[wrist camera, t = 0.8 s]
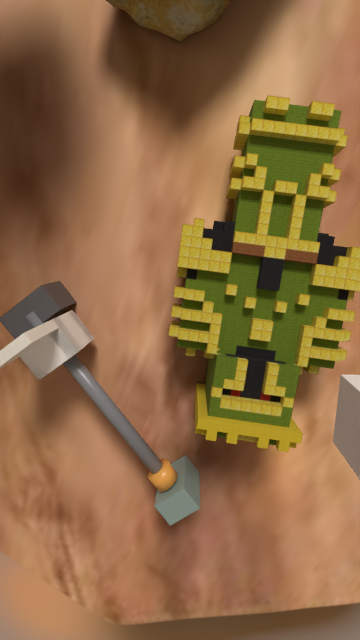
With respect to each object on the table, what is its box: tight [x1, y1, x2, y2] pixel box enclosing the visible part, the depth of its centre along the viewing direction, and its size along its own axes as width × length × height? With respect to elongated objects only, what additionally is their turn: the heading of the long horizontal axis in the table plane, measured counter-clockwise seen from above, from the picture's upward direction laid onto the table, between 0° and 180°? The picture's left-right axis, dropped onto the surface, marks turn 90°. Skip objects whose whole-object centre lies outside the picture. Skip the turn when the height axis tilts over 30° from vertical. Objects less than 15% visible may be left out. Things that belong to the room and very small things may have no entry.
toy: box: [169, 96, 360, 452], centre depth 33 cm, size 17×10×30 cm
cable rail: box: [0, 281, 200, 526], centre depth 38 cm, size 29×6×6 cm, turn 36°
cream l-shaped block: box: [0, 310, 94, 380], centre depth 33 cm, size 4×5×11 cm
